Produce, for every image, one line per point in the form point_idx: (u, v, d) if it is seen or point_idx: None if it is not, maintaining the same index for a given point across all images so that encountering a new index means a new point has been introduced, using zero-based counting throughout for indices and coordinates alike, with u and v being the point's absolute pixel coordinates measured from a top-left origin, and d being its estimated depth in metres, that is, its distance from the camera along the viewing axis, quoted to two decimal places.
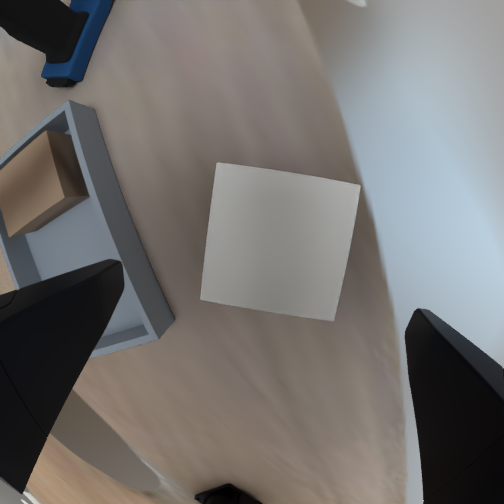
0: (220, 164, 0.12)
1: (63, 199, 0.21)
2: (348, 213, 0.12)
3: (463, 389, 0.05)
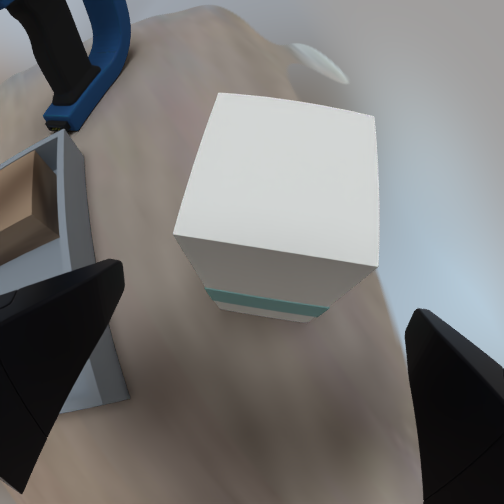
0: (222, 93, 0.10)
1: (29, 217, 0.17)
2: (367, 138, 0.09)
3: (463, 389, 0.05)
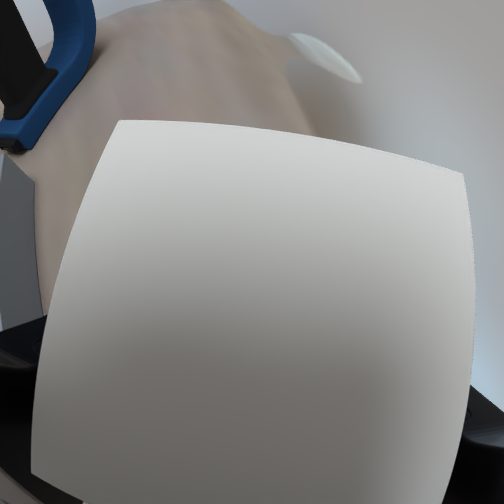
0: (125, 121, 0.04)
1: None
2: (457, 236, 0.04)
3: None
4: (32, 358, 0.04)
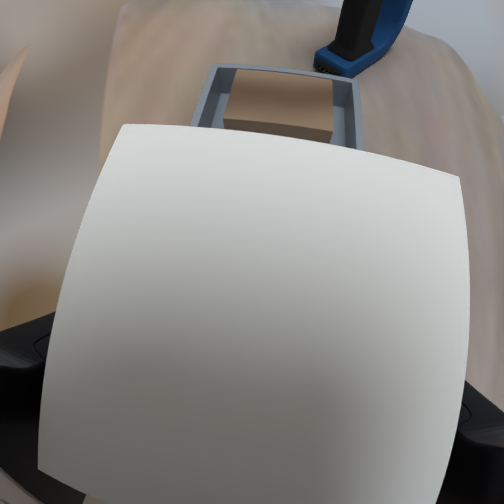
0: (129, 125, 0.04)
1: (327, 132, 0.21)
2: (452, 238, 0.04)
3: None
4: (32, 358, 0.04)
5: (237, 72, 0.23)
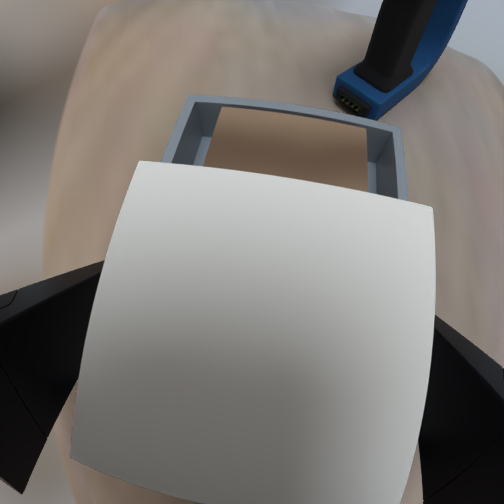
0: (145, 163, 0.05)
1: None
2: (421, 263, 0.05)
3: (463, 389, 0.05)
4: None
5: (222, 112, 0.16)
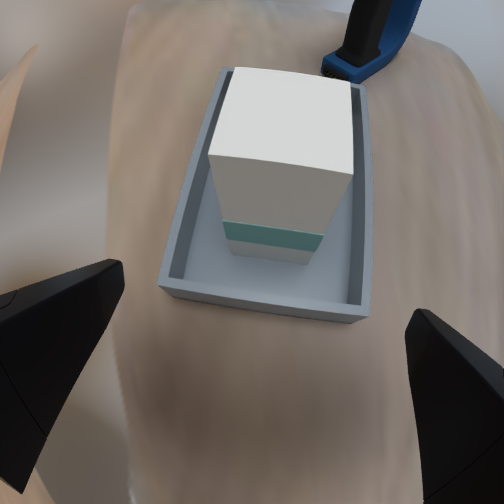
0: (238, 67, 0.13)
1: None
2: (344, 95, 0.13)
3: (463, 389, 0.05)
4: None
5: None
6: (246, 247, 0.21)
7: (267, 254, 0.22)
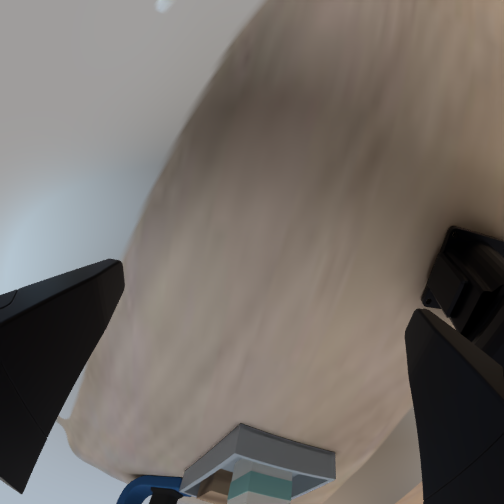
0: None
1: (213, 489, 0.33)
2: None
3: (463, 389, 0.05)
4: None
5: None
6: (284, 471, 0.31)
7: None
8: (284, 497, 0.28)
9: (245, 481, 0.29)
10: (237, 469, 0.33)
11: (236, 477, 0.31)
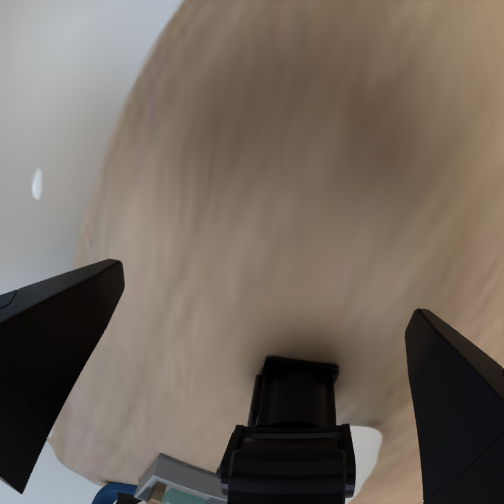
0: None
1: (154, 498, 0.40)
2: None
3: (463, 389, 0.05)
4: None
5: None
6: None
7: None
8: None
9: (168, 494, 0.36)
10: (168, 484, 0.40)
11: (166, 490, 0.38)
